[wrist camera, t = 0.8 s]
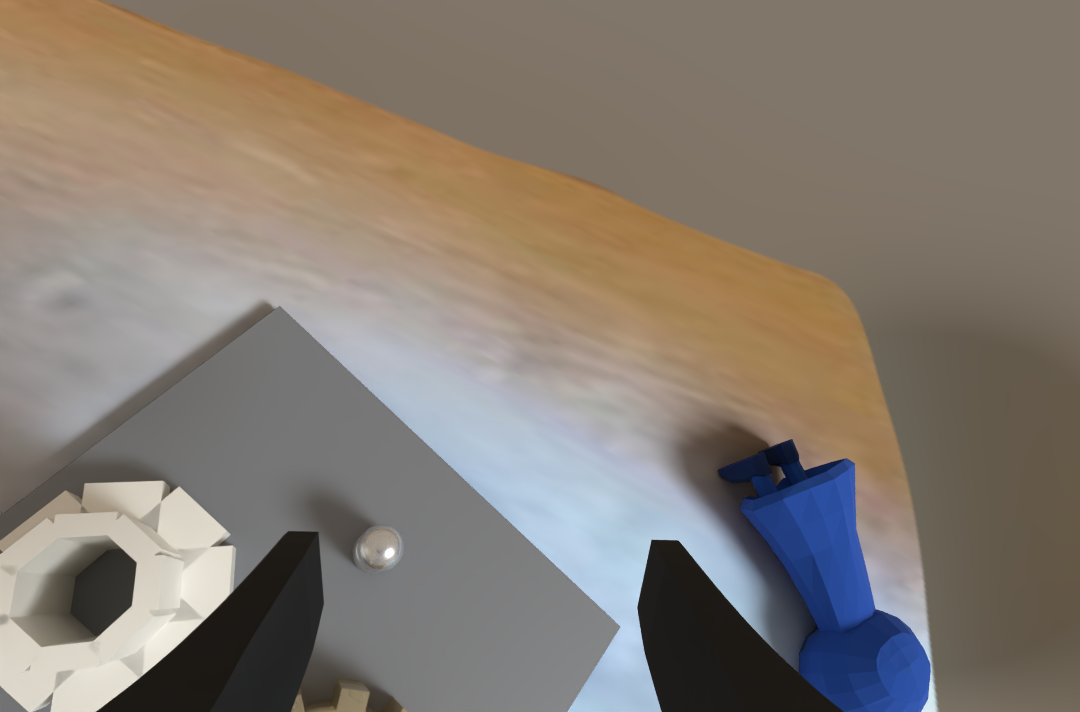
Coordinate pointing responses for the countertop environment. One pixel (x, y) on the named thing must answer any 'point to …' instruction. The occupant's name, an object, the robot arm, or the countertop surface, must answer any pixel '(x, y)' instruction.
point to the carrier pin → (378, 549)
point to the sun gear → (345, 700)
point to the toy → (833, 584)
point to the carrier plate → (346, 532)
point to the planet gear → (158, 599)
